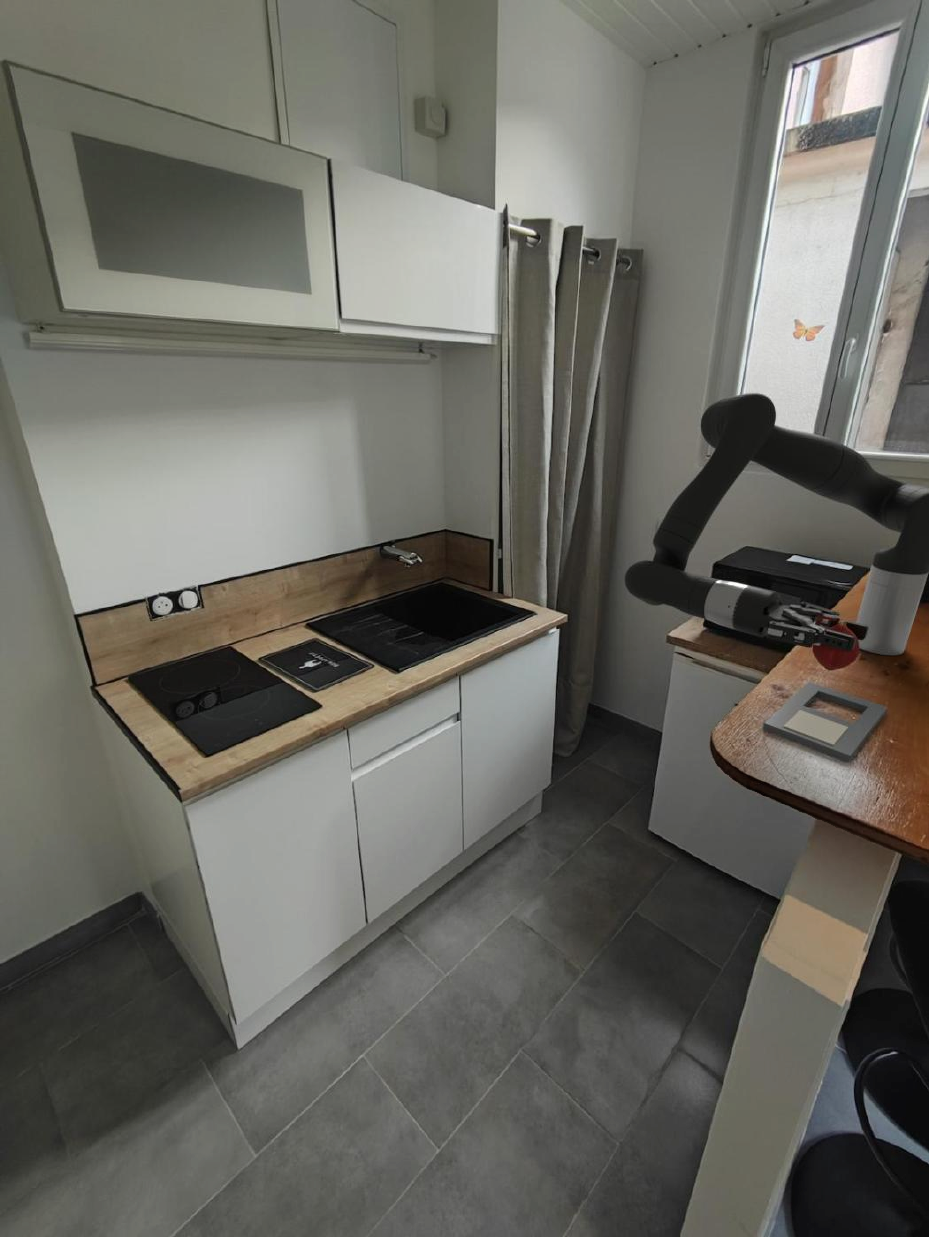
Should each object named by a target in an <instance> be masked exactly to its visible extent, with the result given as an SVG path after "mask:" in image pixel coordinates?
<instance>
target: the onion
mask: <svg viewBox="0 0 929 1237" xmlns="http://www.w3.org/2000/svg"><path fill="white" fill-rule="evenodd" d="M844 620H845V619H843V620H841V621H839V622H838V624H837V625H836V626H833V627H830V628H827V629H829V630H832V631H836V632H840V633H844V634H847V635H851V636H854V637H855V638H856V642H855V646H854V649H853V650H852V651H850V652H847V651H844V650H840V649H837V648H833V647H829V646H826V645H822V644H821V645H814V644H813V645H812V653H813V656H814V657H815V658H814V659H815V660H816V661H817V662H818V664H819V665H821V666H822V667H823V668H824V669H826V670H827V671H829V672H831V671H835V670H840V669H844V668H846V667H849V666H850V665H851V664H852V663H853V662H855V661H856V660H857V658H858V657H859V653H860V648H859V641H858V639H857V637H856V635H855V634H854V633H853V632H852V631H851V630H850V629H848V628H847V626H846V622H845V621H844ZM827 629H825V632H826V630H827Z"/></svg>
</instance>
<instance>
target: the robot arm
mask: <svg viewBox="0 0 929 1237" xmlns="http://www.w3.org/2000/svg"><path fill="white" fill-rule="evenodd" d="M775 406H776V405H774V402H773V401H772V399H771V398H770V397H769V396H767V395H765V394H764V393H759V392H747V393H742V394H736V395H733V396H729V397H725V398H722V399H719V400H718V401H716V402H714V403H712V404H711V405H710V406H709V407H707V408H706V410H705V411H704V413H703V414H702V416H701V419H700V431H701V435H702V437H703V438H704V441H705V442H706V443H707V444H708V445H709V446H711V447H712V448H713V449H714V450H713V453H712V454H711V456H710V458H709V459H708V460H707V463H705V465H704V466H703V468H702V469H701V470H700V472H698V474H696V476H695V477H694V478H693V479H692V480H691V482H690V483H689V484H688V485H687V486H686V487H685V488H684V489H683V490H682V491H681V492H680V494H679V495H678V496H677V497H676V498H675V500H674V501H673V503H672V504H671V506H670V507H669V508H668V510H667V512H666V514H665V516H664V518H663V519H662V521H661V523H660V525H659V527H658V528H657V530H656V532H655V534H654V536H653V539H652V544H653V547H654V549H655V553H654V555H653V558H652V560H640V561H637V562H635V563H632V565H630V566H629V567H628V569H627V570H626V571H625V574H624V586H625V587H626V590H627V591H628V592H629V594H631V595H632V596H633V597H635V598H636V599H638V600H640V601H642V602H644V603H646V604H648V605H650V606H661V605H664V606H665V605H666V606H669V607H672V608H674V609H676V610H679V611H680V612H682V613H684V614H687V615H690V616H693V617H697V618H701V619H703V620H707V621H710V622H712V623H714V624H717V625H719V626H722V627H726V628H728V629H732V630H736V631H739V632H743V633H746V634H749V635H752V636H754V637H755V636H756V637H759V638H763V637H766V639H768V640H772V641H776V642H781V643H785V644H790V645H795V646H800V647H803V648H804V647H805V648H808V649H809V648H813V644H814V645H821V644H822V645H826V646H829V647H833V648H837V649H840V650H844V651H847V652H850V651H852V650H853V649H854V646H855V642H856V638H855V637H854V636H851V635H847V634H844V633H840V632H836V631H832V630H829V629H827V628H830V627H833V626H836V625H837V624H838V622H839V621H841V620H844V621H845V622H846V626H847V628H848V629H850V630H851V631H852V632H853V633H854V634H855V635H856V637H857V639H858V641H859V650H863V651H864V652H865V651H866V652H869V653H871V654H872V653H873V654H875V655H876V654H877V655H883V656H899V655H903V653H905V649H906V646H907V643H908V639H909V636H910V634H911V630H912V627H913V624H914V620H915V617H916V614H917V611H918V607H919V606H920V605H919V604H920V603H921V602H920V601H921V598H922V594H923V591H924V589H925V586H926V582H927V578H928V575H929V486H925V485H919V484H915V483H909V482H903V481H901V480H897V479H894V478H891V477H888V476H887V475H884V474H881V473H879V472H877V471H876V470H875V469H874V468H873V467H872V465H871V464H870V462H869V460H867V459H866V458H865V457H864V455H862V454H861V453H859V452H858V451H857V450H855V449H853V448H851V447H849V446H847V445H845V444H843V443H840V442H838V441H837V440H835V439H831V438H829V437H826V436H822V435H820V434H819V435H818V434H814V433H811V432H806V431H801V430H795V429H790V428H786V427H783V426H780V425H777V424H776V420H777V410H776V407H775ZM750 462H753V463H756V464H758V465H760V466H762V467H763V468H766V469H768V470H769V471H771V472H773V473H775V474H777V475H779V476H780V477H782V478H784V479H787V480H788V481H790V482H792V483H794V484H797V485H798V486H800V487H802V488H803V489H806V490H808V491H810V492H811V493H814V494H817V495H818V496H820V497H823V498H827V499H828V500H831V501H834V502H836V503H840V504H844V505H847V506H850V507H853V508H854V509H856V510H858V511H860V512H861V513H863V514H865V515H866V516H867V517H869V518H871V519H872V520H873V521H875V522H877V523H878V524H879V525H881V526H883V527H884V528H886V529H888V530H891V531H893V532H897V533H900V535H899V537H898V540H897V542H896V544H895V546H893V547H891V548H881V549H878V550H877V551H876V552H875V554H874V556H873V559H872V563H871V566H870V571H869V574H868V578H867V583H866V586H865V588H864V593H863V596H862V600H861V604H860V607H859V611H858V615H857V619H856V622H854V621H850V620H847V619H842V618H841V616H840V615H841V614H840V612H839V611H836V610H832V609H829V608H825V607H823V606H819V605H816V604H813V603H810V602H806V601H801V602H800V603H799V605H796V604H790V605H786V604H782V601H781V596H780V593H779V592H777V591H774V590H771V589H766V588H762V587H758V586H754V585H749V584H745V583H742V582H741V583H740V582H738V581H730V580H723V579H718V578H713V577H708V576H705V575H700V574H695V573H690V572H686V568H687V565H688V561H689V556H690V555H691V552H692V550H693V549H694V548H695V546H696V544H697V542H698V540H699V539H700V537H701V535H702V533H703V531H704V530H705V527H706V526H707V524H708V522H709V520H710V519H711V517H712V515H713V514H714V512H715V511H716V510H717V507H718V506H719V505H720V503H721V501H722V500H723V498H725V496H726V494H727V493H728V491H729V490H730V489H731V487H732V486H733V484H734V483H735V482H736V480H737V479H738V478H739V476H740V475H741V474H742V472H744V470H745V468H746V467H747V466H748V464H749V463H750ZM825 629H827V630H826V632H825Z"/></svg>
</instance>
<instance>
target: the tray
mask: <svg viewBox="0 0 929 1237" xmlns="http://www.w3.org/2000/svg"><path fill="white" fill-rule="evenodd" d="M816 698H820V699H823V700H826V701H829V702H831V703H835V704H838V705H841V706H844V707H848V708H850V709H852V710H856V711H858V712H862V713H861V715H860V716H859V717H858V718H857V720H856V721H855V722H851V721H849V720H845V719H843V718H840V717H837V716H834V715H831V714H827V713H825V712H822V711H819V710H816V709H813V708H811V707H808V706H809V705H810V704H811V703H812V702H814V701H815V699H816ZM888 708H889V706H885V705H882V704H878V703H876V702H872V701H870V700H866V699H863V698H860V697H857V696H854V695H851V694H848V693H845V692H841V691H838V690H835V689H832V688H830V687H826V686H824V685H823V686H822V685H819V684H817V683H813V682H811V681H810V682H807V683H806V685H804V686H803V687H801V689H799V691H797V692H796V693H795V694H794V695H793V696H792V697H791V698H790V699H788V701H787V702H785V703H784V704H782V706H781V707H780V708H779V709H778V710H777V711H775V712H774V713H773V714H772V715H771V716H770V717H769V718H768V719H767V720H766V721H765V722H764V723H763V726H762V730H764V731H766V732H769V733H771V734H774V735H775V736H778V737H781V738H784V739H786V740H790V741H791V742H794V743H796V744H799V745H801V746H804V747H807V748H810V749H813V750H815V751H817V752H819V753H822V754H825V755H826V756H827V755H828V756H830V757H831V758H832V757H833V758H835V759H837V760H841V761H843V762H845V763H848V764H849V763H850V761H851V760H852V759H853V757H854V756H855V755H856V753H857V752H858V751H859V750H860V748H861V747H862V745H863V744H864V743H865V742H866V741H867V739H868V738H869V736H870V735H871V734H872V732H873V731H874V730H875V728H876V727H877V726H878V725H879V723H880V722H881V720H882V719H883V718H884V717H885V715H886V713H887V712H888Z"/></svg>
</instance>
